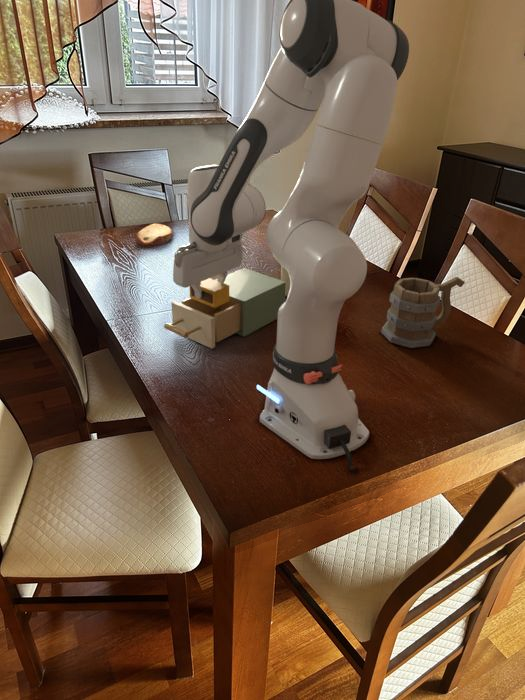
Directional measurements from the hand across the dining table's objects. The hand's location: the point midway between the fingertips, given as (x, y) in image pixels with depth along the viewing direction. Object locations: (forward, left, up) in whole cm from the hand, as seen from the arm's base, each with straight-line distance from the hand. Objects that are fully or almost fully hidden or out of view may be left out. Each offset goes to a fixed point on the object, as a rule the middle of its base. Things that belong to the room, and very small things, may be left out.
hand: (209, 292), depth 128 cm
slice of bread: (+78, -14, -12) cm, 81 cm away
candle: (+12, -32, -12) cm, 36 cm away
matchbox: (0, 0, -2) cm, 2 cm away
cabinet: (+4, -12, -11) cm, 17 cm away
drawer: (0, +1, -10) cm, 10 cm away
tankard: (-26, -48, -12) cm, 56 cm away
